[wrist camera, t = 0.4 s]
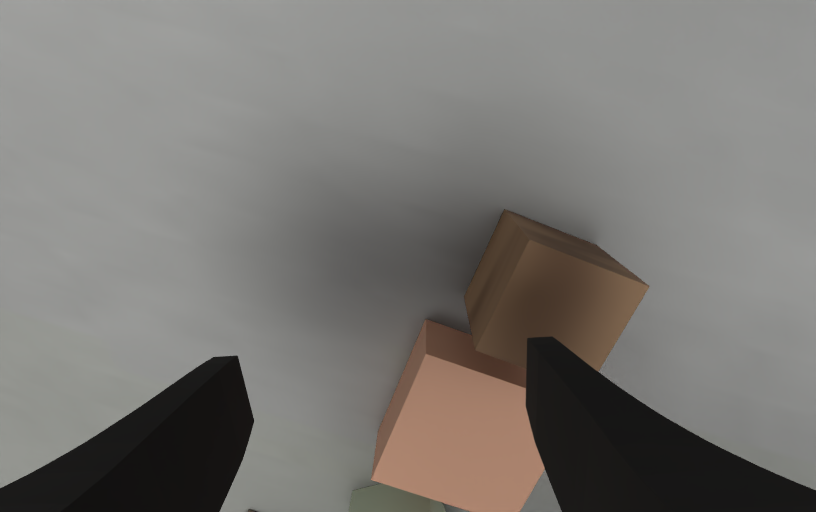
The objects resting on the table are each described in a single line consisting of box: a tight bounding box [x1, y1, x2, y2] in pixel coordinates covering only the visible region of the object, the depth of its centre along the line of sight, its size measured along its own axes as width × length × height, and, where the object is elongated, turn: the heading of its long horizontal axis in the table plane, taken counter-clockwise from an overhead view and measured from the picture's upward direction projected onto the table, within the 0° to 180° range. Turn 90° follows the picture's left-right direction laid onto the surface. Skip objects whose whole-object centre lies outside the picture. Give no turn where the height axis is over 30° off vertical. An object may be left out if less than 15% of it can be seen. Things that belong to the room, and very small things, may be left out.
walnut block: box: [464, 209, 650, 371], centre depth 18 cm, size 4×4×5 cm
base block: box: [371, 319, 545, 512], centre depth 21 cm, size 7×7×4 cm
